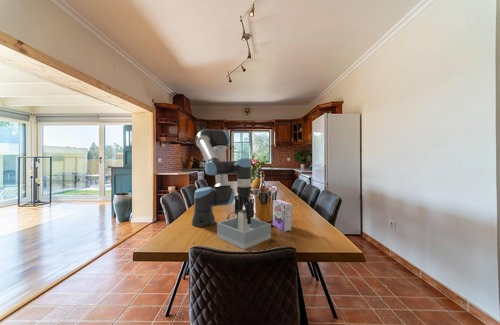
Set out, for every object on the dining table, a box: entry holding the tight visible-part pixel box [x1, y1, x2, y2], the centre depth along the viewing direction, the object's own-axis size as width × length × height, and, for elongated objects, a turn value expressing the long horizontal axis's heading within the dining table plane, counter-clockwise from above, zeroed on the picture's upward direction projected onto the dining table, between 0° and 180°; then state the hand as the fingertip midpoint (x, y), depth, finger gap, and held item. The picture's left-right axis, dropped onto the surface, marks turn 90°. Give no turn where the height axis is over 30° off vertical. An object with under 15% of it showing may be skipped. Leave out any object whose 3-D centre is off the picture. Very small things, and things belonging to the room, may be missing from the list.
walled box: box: [216, 217, 272, 250], centre depth 118 cm, size 22×20×8 cm
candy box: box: [272, 199, 293, 233], centre depth 134 cm, size 14×6×16 cm, turn 23°
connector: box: [238, 208, 249, 232], centre depth 118 cm, size 4×4×15 cm
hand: (243, 228), depth 118 cm, fingers open, 5 cm apart
